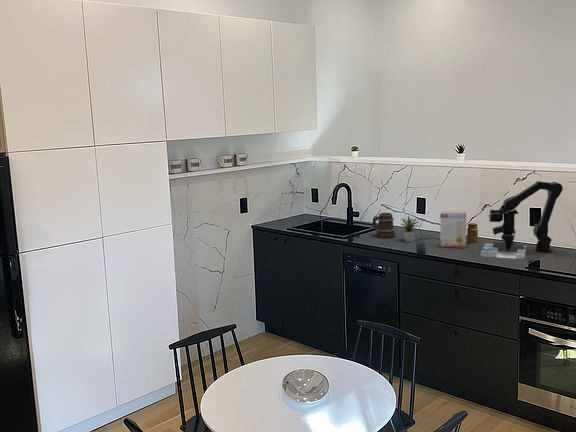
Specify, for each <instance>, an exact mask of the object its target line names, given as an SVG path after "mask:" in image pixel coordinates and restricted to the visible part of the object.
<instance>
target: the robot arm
mask: <svg viewBox="0 0 576 432" xmlns="http://www.w3.org/2000/svg"><path fill="white" fill-rule="evenodd" d="M540 190H543V191H547V198H546V202H545V205H544V208H543V211H542V214H541V216H540V220H539V222H538V223H534V226H533V229H532V231H533V235H534V237H535V238H536V239H537V243H536V245H535V247H536V249H535V251H536V252H540V253H549V252H550V251H551V242H552V238H551V237H549V235H548V233H549V222H550V219H551V217H552V213H553V211H554V208H555V204H556V201H557V199H558V198H559V197H561V196H560V195H561V194H562V192H563V190H564V187H563V184H561V183H559V182H557V181H552V182H547V181H546V182H545V181H541V180H537V181H536V182H535V183H533V184H531V185H530V186H528V187H527V188H525V189H524V190H522V191H521V192H519V193H517V194H515V195H513V196H509V197H508V198H505V199H504V200H503V203H502V205H501V206H500V207H499V209H490V210H489V215H488V220H489V223H499V222H502V221H503V223H502V225H499V226H495V227H493V228H492V233H493V235H494V236H495V235H498V234H501V233H502V235H501V241H502V240H503V241H504V242H505V243H506V248H507V250H509V249H510V247H511V245H512V243H514V241H515V240H514V239H515V236H516V229H515V225H516V223H515V219H516V218H515V217H516V216H515V215H519V212H518V210H517V209H516V208H517V207H518V206H519V205H520V204H521V203H522V202H523V201H525V200H526V199H528V198H530V196H532V195H533V194H535V193H536V192H539V191H540Z"/></svg>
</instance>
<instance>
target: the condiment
mask: <svg viewBox="0 0 576 432" xmlns="http://www.w3.org/2000/svg"><path fill="white" fill-rule="evenodd" d="M478 236H479V229H478V224H477V223H474V222H471V223H468V224H467V227H466V246H468V245H469V243H470V244H477V243H478V240H479V239H478Z"/></svg>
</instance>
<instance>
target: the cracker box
mask: <svg viewBox="0 0 576 432" xmlns="http://www.w3.org/2000/svg"><path fill="white" fill-rule="evenodd" d="M439 214H440V218H439V219H440V221H439V222H440V227H439V228H440V229H439V231H440V232H439V235H440V237H439V238H440V240H439V241H440V245H439V246H440V248H457V249H458V248H460V249H465V248H466V247H467V245H466V242H467V211H457V210H456V211H455V210H454V211H453V210H442V211H441V212H440V213H439Z"/></svg>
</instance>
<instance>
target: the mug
mask: <svg viewBox="0 0 576 432" xmlns="http://www.w3.org/2000/svg"><path fill="white" fill-rule="evenodd" d="M377 221H378V223H377V224H378V225H377V224H376V222H377ZM394 221H395V219H394V218H393V213H392V212H381V213H379V214H378V215H375V216H373V218H372V224H371V226H372V228H373V229H374V230H376V238H379V239H392V238H396V233H395V230H396V229H395V227H394Z"/></svg>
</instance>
